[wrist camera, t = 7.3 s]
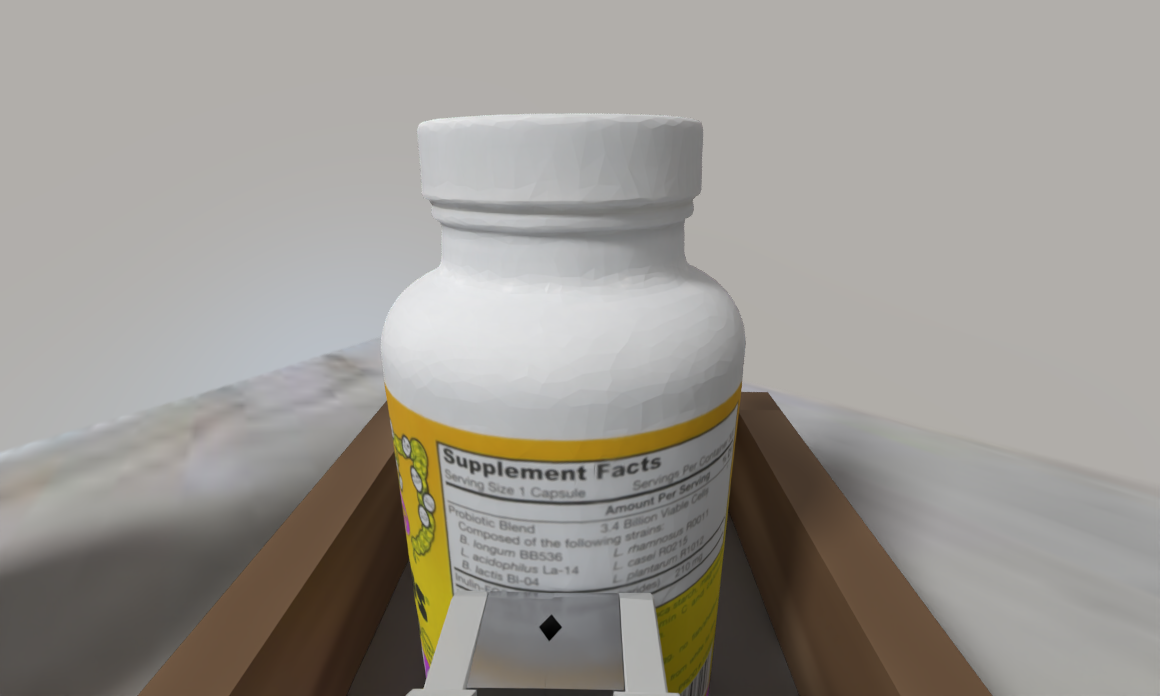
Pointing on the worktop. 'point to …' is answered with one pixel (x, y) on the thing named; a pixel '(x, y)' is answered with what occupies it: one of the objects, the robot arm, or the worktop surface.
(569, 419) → the supplement bottle
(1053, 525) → the worktop surface
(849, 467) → the worktop surface
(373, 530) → the corral
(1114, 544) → the worktop surface
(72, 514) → the worktop surface
